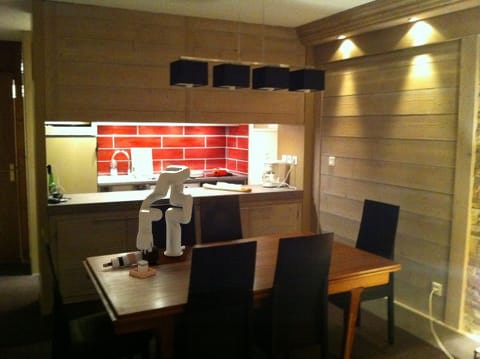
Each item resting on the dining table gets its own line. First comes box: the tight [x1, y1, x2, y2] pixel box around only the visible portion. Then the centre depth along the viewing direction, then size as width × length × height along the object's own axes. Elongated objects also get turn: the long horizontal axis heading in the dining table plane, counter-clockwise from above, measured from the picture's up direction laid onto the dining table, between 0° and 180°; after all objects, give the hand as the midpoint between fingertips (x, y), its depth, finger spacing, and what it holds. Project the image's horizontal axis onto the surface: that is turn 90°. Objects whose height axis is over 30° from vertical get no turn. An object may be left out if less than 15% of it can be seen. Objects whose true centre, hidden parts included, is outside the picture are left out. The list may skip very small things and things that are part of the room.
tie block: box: [137, 260, 149, 274], centre depth 263 cm, size 4×4×7 cm
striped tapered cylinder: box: [102, 245, 160, 270], centre depth 277 cm, size 10×34×10 cm, turn 121°
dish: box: [128, 266, 157, 280], centre depth 263 cm, size 11×11×3 cm
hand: (144, 259), depth 275 cm, fingers closed
